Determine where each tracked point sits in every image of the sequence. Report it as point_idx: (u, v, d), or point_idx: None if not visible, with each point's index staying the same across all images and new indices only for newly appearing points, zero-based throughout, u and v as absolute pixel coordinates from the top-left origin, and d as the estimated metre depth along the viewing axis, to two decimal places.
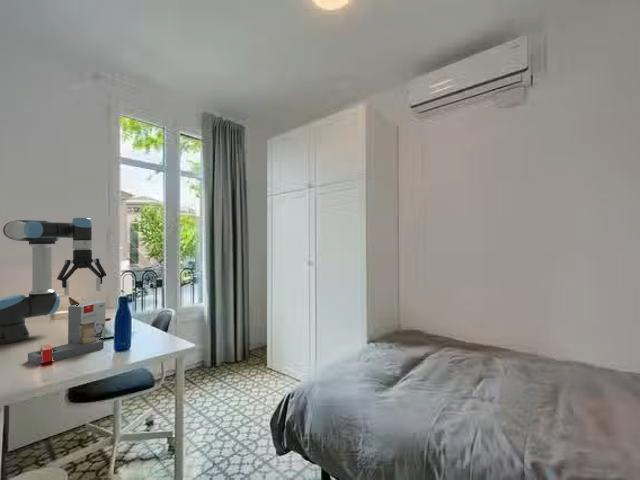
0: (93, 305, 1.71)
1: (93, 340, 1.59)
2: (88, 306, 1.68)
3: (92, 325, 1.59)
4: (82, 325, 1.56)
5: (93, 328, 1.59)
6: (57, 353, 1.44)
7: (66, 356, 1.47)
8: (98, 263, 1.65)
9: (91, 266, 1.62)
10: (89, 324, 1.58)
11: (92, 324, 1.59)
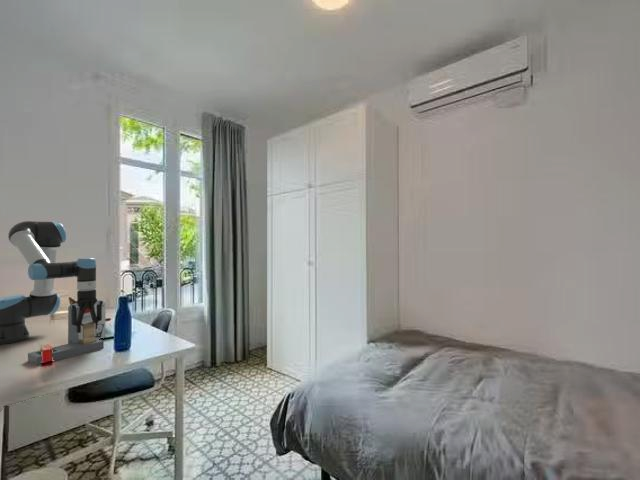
0: None
1: (93, 340, 1.59)
2: None
3: (92, 325, 1.59)
4: (82, 325, 1.56)
5: (93, 328, 1.59)
6: (57, 353, 1.44)
7: (66, 356, 1.47)
8: (100, 305, 1.63)
9: (92, 308, 1.60)
10: (89, 324, 1.58)
11: (92, 324, 1.59)
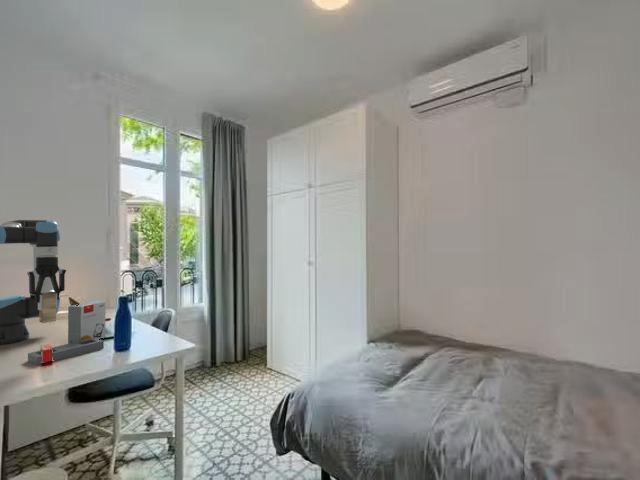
0: (93, 305, 1.71)
1: (54, 311, 1.46)
2: (88, 306, 1.68)
3: (53, 295, 1.46)
4: (41, 294, 1.43)
5: (54, 298, 1.46)
6: (57, 353, 1.44)
7: (66, 356, 1.47)
8: (62, 275, 1.50)
9: (54, 276, 1.46)
10: (49, 294, 1.45)
11: (53, 294, 1.46)
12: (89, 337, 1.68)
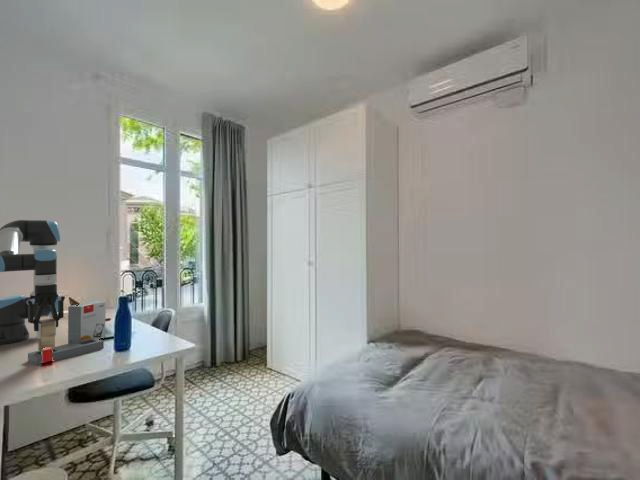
0: (93, 305, 1.71)
1: (53, 339, 1.45)
2: (88, 306, 1.68)
3: (52, 323, 1.45)
4: None
5: (53, 326, 1.45)
6: (57, 353, 1.44)
7: (66, 356, 1.47)
8: (61, 302, 1.49)
9: (52, 304, 1.46)
10: (48, 322, 1.44)
11: (52, 322, 1.45)
12: (89, 337, 1.68)
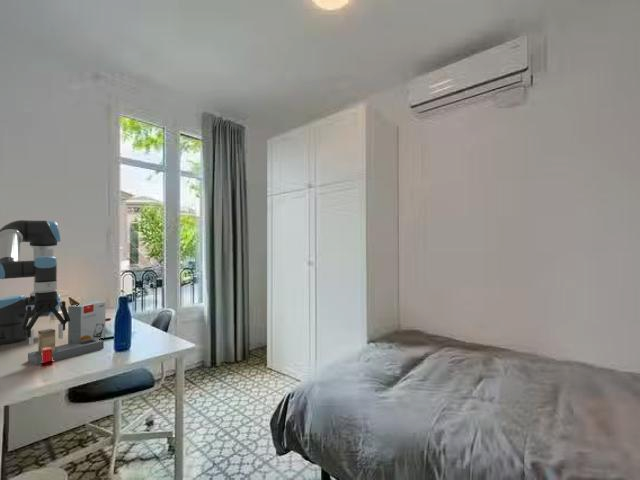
0: (93, 305, 1.71)
1: (53, 349, 1.46)
2: (88, 306, 1.68)
3: (52, 333, 1.45)
4: (41, 333, 1.43)
5: (53, 336, 1.46)
6: (57, 353, 1.44)
7: (66, 356, 1.47)
8: (63, 306, 1.50)
9: (55, 310, 1.47)
10: (49, 332, 1.44)
11: (52, 332, 1.45)
12: (89, 337, 1.68)
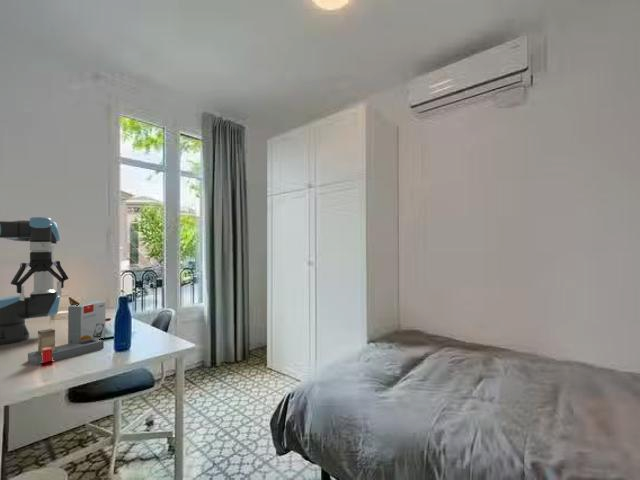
0: (93, 305, 1.71)
1: (53, 349, 1.46)
2: (88, 306, 1.68)
3: (52, 333, 1.45)
4: (40, 333, 1.43)
5: (53, 336, 1.46)
6: (57, 353, 1.44)
7: (66, 356, 1.47)
8: (59, 266, 1.53)
9: (50, 269, 1.50)
10: (48, 332, 1.44)
11: (52, 332, 1.45)
12: (89, 337, 1.68)
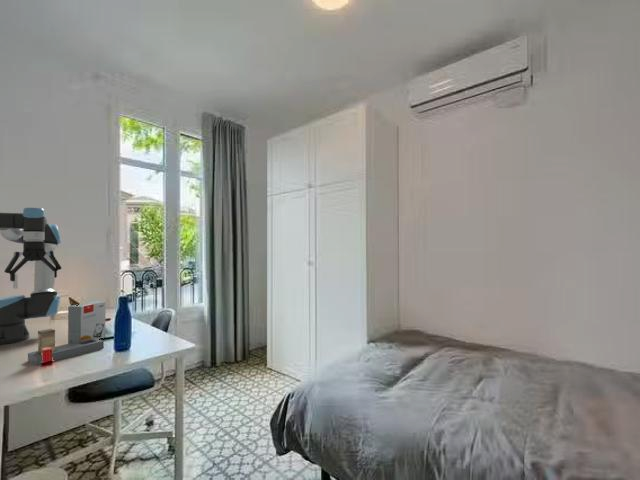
0: (93, 305, 1.71)
1: (53, 349, 1.46)
2: (88, 306, 1.68)
3: (52, 333, 1.45)
4: (40, 333, 1.43)
5: (53, 336, 1.46)
6: (57, 353, 1.44)
7: (66, 356, 1.47)
8: (52, 256, 1.57)
9: (44, 259, 1.54)
10: (48, 332, 1.44)
11: (52, 332, 1.45)
12: (89, 337, 1.68)
